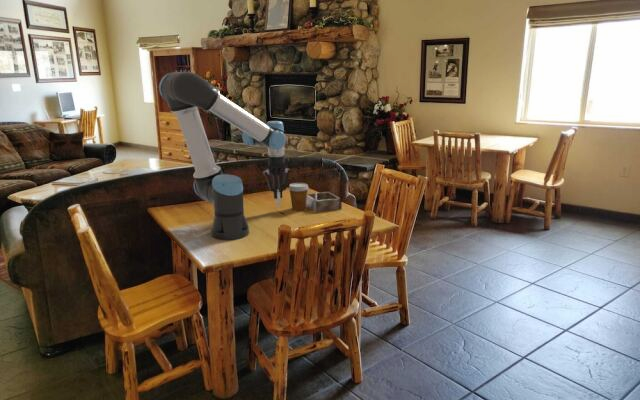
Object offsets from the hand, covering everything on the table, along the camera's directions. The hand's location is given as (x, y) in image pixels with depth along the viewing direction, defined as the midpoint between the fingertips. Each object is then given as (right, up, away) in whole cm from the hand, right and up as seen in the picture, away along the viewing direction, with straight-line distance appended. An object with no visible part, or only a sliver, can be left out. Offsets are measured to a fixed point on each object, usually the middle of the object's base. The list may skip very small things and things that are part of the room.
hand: (278, 204), depth 212 cm
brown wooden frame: (+22, -1, +9) cm, 24 cm away
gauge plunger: (+17, -1, +7) cm, 19 cm away
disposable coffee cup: (+9, -2, +5) cm, 11 cm away
